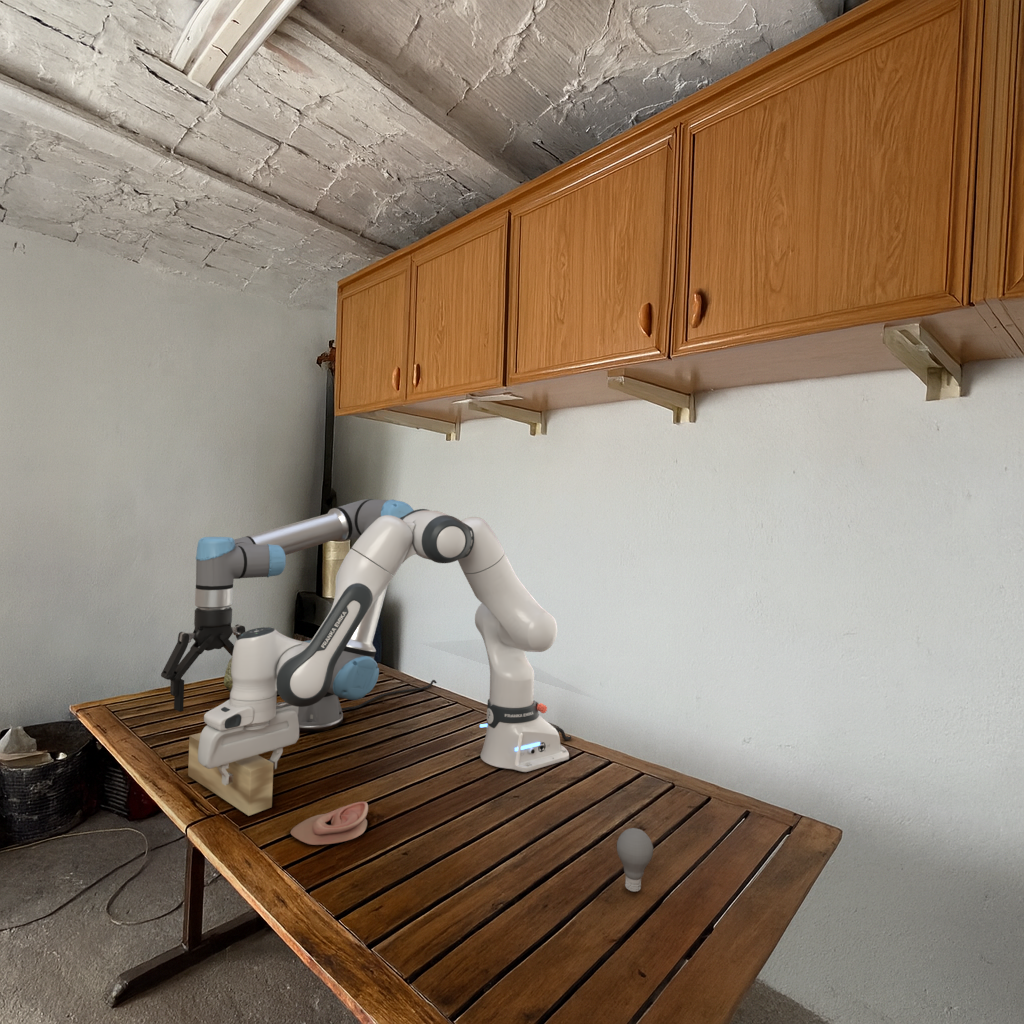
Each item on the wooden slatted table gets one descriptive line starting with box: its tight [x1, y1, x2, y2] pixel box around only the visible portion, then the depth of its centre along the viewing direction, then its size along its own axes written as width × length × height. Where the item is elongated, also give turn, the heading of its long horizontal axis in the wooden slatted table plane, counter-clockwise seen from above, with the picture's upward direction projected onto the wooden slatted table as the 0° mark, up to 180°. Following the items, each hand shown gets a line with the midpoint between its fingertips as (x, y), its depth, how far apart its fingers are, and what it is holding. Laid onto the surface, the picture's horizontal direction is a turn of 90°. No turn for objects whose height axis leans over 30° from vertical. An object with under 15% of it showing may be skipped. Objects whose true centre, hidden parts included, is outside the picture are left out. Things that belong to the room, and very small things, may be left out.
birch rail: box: [187, 732, 274, 817], centre depth 135 cm, size 5×26×9 cm, turn 51°
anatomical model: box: [290, 801, 369, 846], centre depth 120 cm, size 13×4×12 cm
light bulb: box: [616, 827, 654, 893], centre depth 106 cm, size 6×6×10 cm
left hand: (210, 702), depth 140 cm, fingers open, 13 cm apart
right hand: (249, 776), depth 129 cm, fingers open, 8 cm apart
